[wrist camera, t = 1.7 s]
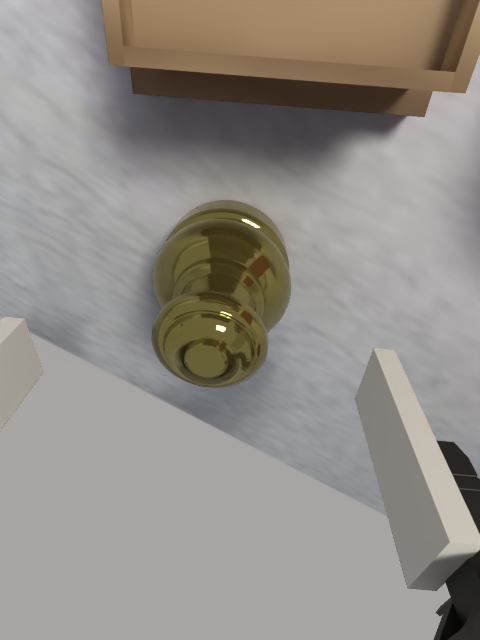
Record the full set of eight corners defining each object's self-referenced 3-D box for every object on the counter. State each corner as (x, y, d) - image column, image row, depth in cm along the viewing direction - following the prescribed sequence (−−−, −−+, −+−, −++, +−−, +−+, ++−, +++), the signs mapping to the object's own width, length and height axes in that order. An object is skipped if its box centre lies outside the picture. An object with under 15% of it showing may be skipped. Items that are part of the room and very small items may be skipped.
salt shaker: (223, 324, 25) (202, 444, 17) (145, 247, 22) (74, 348, 14) (310, 266, 22) (336, 378, 14) (234, 169, 19) (211, 238, 11)
